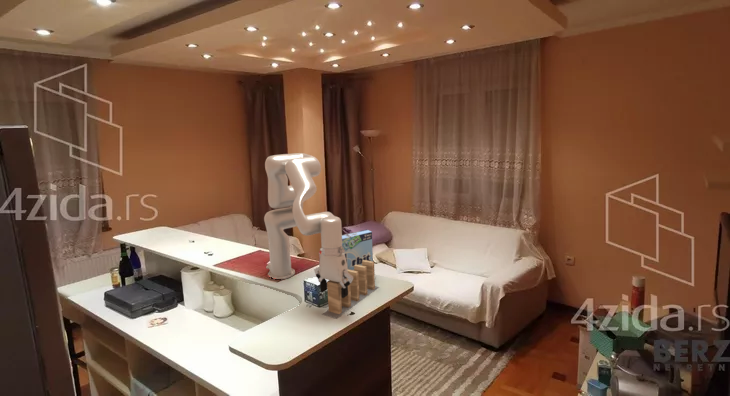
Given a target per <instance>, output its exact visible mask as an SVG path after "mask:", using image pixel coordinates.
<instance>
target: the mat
mask: <svg viewBox="0 0 730 396" xmlns="http://www.w3.org/2000/svg"><path fill="white" fill-rule="evenodd" d="M379 288H380V286H377V285H375V289H374V290H371V289H367V295H361V294H359V298H360V300H359V301H354V300H351V306H350V307H349V308H348V307H345V306H342V313H341V314H337V313H333V312H330V311H329V308H328V309H327V310H326V311H324V312H322V313H321V315H322V316H326V317H330V318H333V319H336V320H338V318H340V317H341V316H342V315H344V314H346V313H347V312H348V311H349V310H351V309H352V308H353V307H355V306H356V305H358V303H361V302H362V301H363V300H365V299H366V298H367V297H368V296H370V295H371V294H373V293H374V292H375V291H377V290H378V289H379Z"/></svg>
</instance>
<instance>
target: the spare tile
mask: <svg viewBox="0 0 730 396" xmlns="http://www.w3.org/2000/svg"><path fill="white" fill-rule="evenodd" d="M326 281H327V301H328V302H327V304H328V309H329V311H330V312H333V313H337V314H341V313H342V303H341V284H340V283H339V282H335V281H331V280H326Z"/></svg>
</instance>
